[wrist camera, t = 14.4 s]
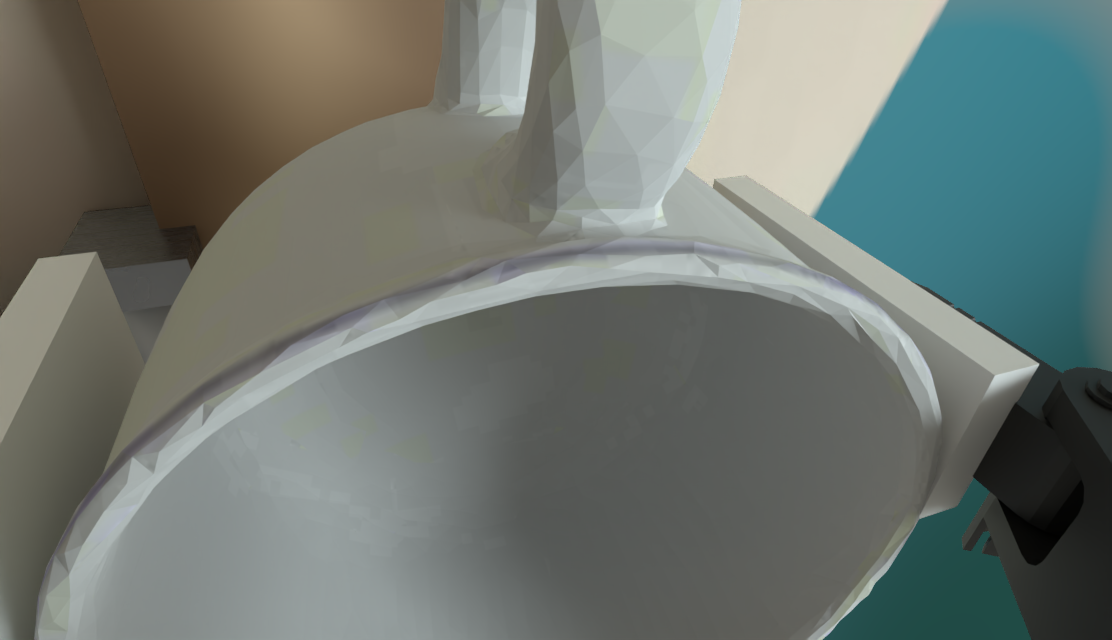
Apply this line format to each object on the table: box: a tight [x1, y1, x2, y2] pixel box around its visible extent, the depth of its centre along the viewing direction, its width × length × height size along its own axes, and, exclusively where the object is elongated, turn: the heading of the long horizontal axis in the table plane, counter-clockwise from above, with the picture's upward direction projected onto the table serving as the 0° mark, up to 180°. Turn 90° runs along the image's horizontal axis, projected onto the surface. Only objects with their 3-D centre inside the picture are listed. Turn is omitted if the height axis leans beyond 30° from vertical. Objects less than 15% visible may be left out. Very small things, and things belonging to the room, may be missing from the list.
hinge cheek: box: [59, 205, 203, 312], centre depth 14 cm, size 2×1×3 cm, turn 88°
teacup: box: [34, 0, 942, 640], centre depth 10 cm, size 14×11×8 cm
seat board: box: [78, 0, 445, 250], centre depth 16 cm, size 11×11×1 cm
